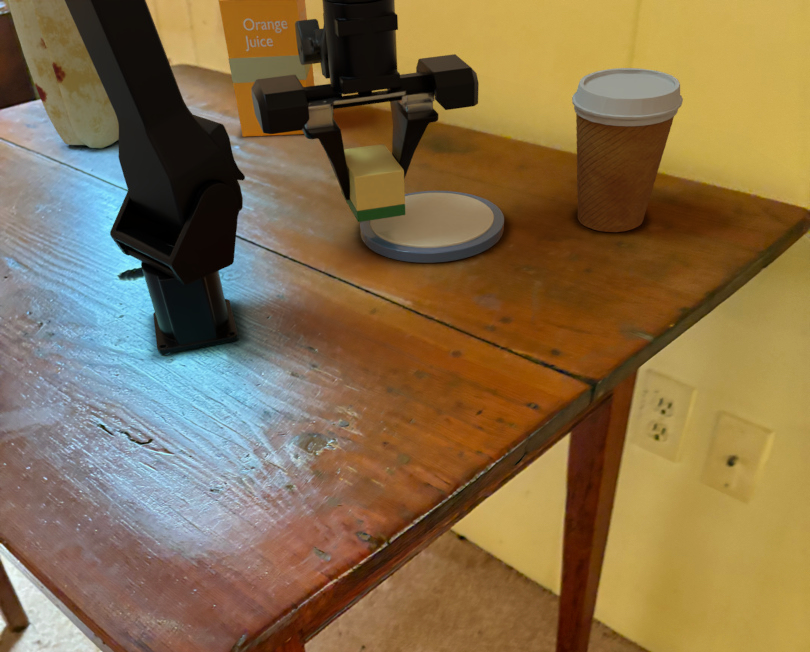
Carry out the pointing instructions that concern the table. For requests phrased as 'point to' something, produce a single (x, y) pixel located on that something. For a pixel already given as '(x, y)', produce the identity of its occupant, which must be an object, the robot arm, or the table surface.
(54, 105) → the food model
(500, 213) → the plate
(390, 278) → the table surface
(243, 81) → the orange juice
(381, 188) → the sponge
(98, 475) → the table surface
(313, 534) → the table surface
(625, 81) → the disposable coffee cup
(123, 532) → the table surface
